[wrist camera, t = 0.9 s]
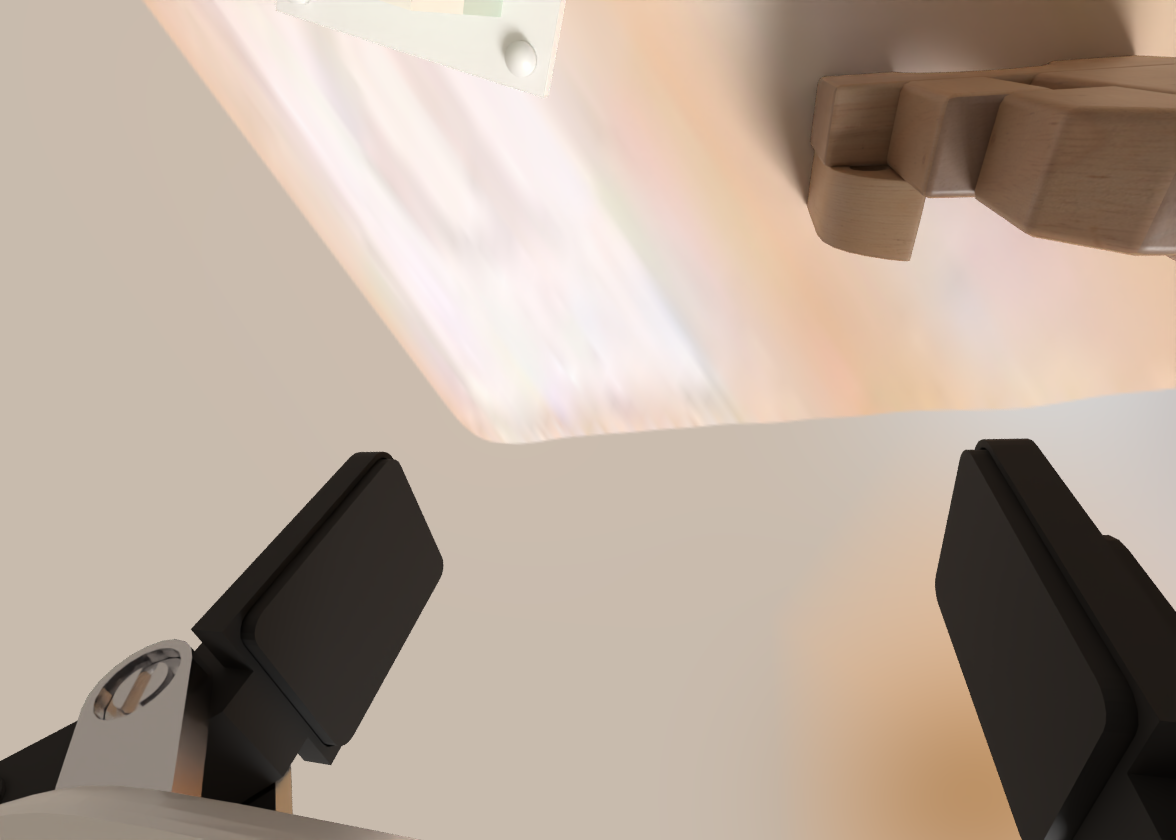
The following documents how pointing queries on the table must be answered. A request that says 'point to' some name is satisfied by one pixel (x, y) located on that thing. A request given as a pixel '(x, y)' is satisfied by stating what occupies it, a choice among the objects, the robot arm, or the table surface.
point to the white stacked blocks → (454, 33)
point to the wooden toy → (1000, 153)
